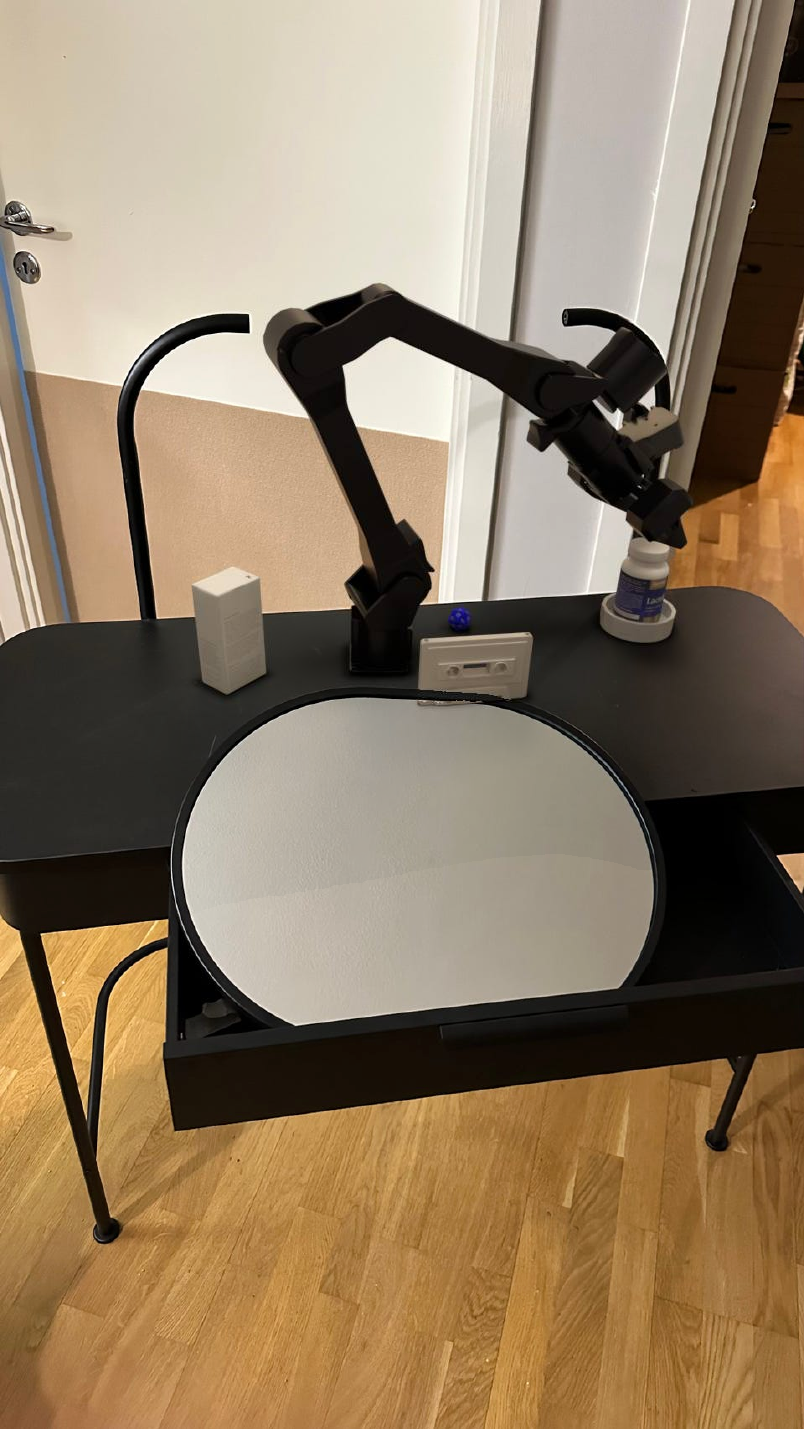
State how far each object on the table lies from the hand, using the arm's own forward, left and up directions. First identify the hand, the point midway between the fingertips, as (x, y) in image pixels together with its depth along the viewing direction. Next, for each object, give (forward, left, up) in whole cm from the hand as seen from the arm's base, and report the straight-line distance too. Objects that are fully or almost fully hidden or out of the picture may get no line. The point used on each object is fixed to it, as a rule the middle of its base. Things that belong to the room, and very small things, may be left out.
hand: (662, 530), depth 115 cm
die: (-23, -1, -13) cm, 26 cm away
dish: (-1, 0, -12) cm, 13 cm away
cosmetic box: (-49, -13, -13) cm, 53 cm away
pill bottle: (-1, 0, -12) cm, 12 cm away
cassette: (-23, -17, -13) cm, 32 cm away
